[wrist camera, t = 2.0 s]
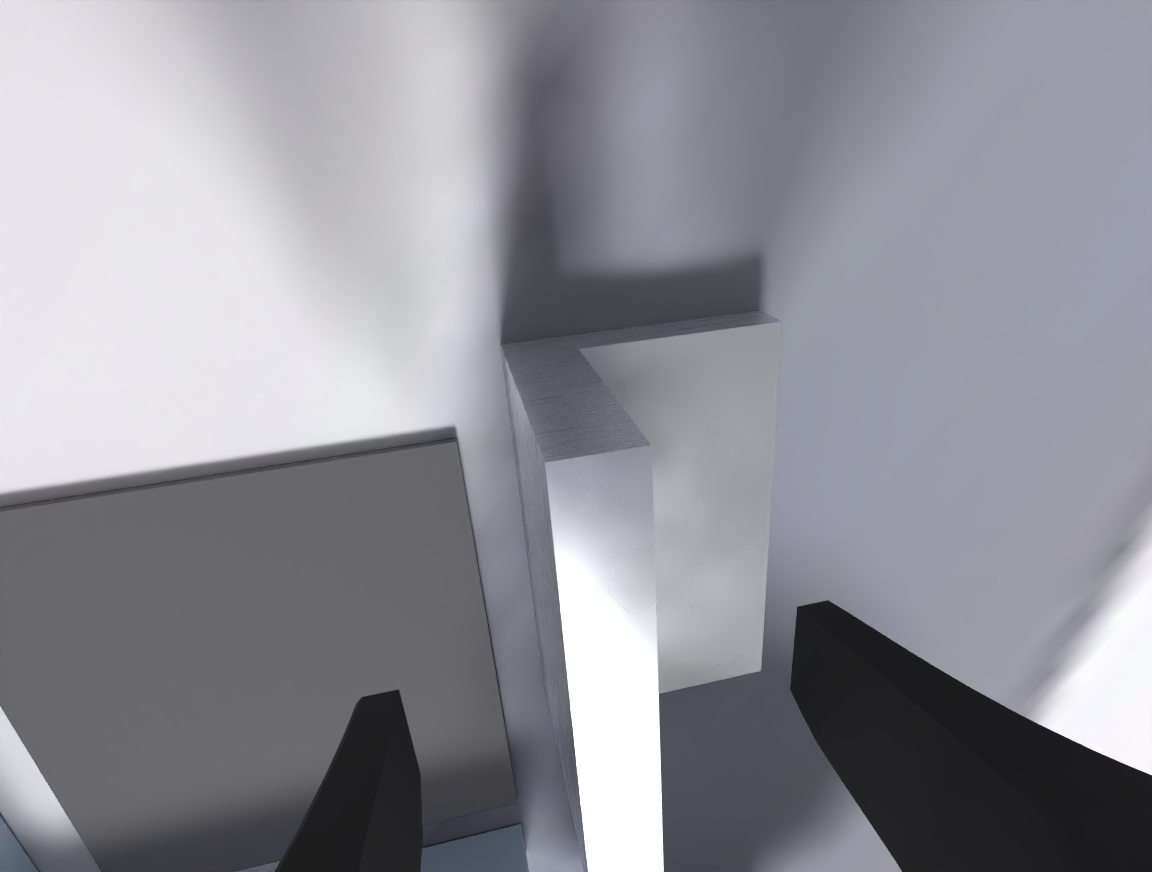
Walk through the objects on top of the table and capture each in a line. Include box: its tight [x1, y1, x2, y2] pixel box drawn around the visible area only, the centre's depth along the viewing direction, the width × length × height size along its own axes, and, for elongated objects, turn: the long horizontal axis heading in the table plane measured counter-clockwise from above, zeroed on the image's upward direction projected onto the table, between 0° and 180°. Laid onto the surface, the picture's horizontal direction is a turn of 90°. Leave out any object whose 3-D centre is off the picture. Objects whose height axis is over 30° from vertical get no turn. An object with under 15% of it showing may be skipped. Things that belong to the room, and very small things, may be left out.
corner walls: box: [0, 816, 529, 872], centre depth 15 cm, size 14×15×4 cm
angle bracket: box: [500, 311, 782, 872], centre depth 14 cm, size 10×6×6 cm, turn 4°
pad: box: [0, 438, 517, 872], centre depth 16 cm, size 11×12×1 cm
